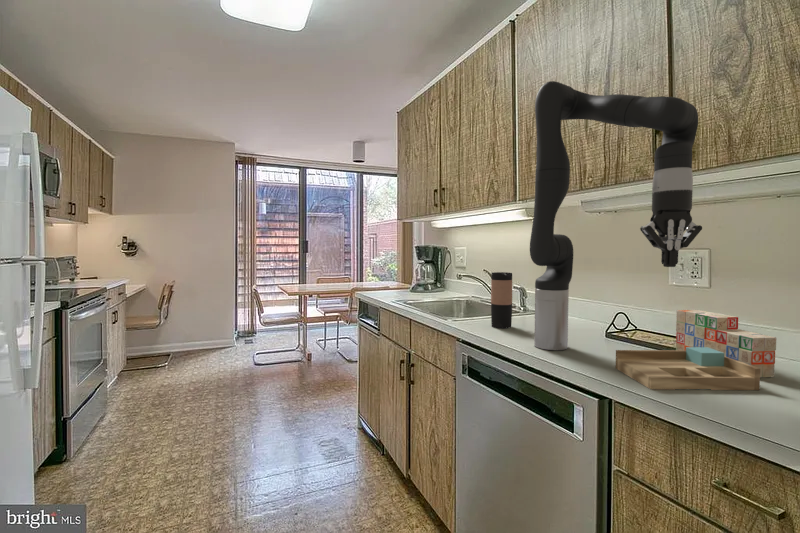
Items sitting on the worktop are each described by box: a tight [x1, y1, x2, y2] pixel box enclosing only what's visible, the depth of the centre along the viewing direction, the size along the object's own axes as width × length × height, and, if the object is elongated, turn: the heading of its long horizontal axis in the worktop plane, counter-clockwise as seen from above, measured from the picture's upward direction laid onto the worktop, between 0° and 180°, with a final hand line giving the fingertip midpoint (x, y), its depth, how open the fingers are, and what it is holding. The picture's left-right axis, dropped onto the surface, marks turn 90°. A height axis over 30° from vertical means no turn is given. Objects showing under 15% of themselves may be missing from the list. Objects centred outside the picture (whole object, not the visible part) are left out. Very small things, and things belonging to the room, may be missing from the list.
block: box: [686, 347, 724, 366], centre depth 91 cm, size 5×5×3 cm
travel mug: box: [490, 271, 513, 329], centre depth 144 cm, size 8×8×20 cm
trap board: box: [615, 349, 761, 391], centre depth 87 cm, size 14×22×4 cm, turn 88°
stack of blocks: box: [675, 309, 777, 378], centre depth 98 cm, size 21×6×12 cm, turn 5°
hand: (669, 266), depth 89 cm, fingers closed
